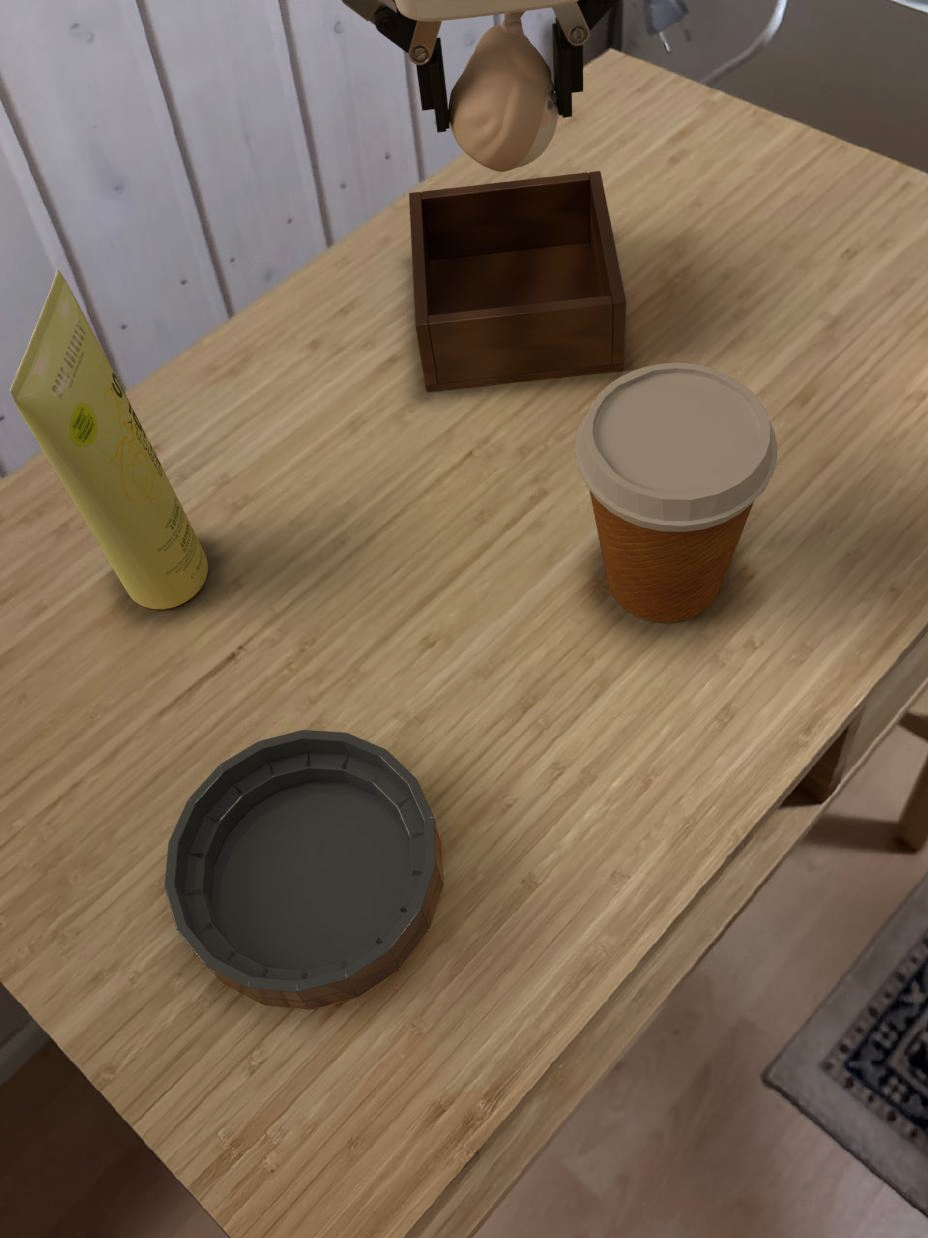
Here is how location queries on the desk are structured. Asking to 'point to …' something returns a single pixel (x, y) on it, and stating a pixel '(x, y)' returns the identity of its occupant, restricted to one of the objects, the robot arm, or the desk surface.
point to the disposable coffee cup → (673, 482)
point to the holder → (516, 282)
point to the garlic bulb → (504, 100)
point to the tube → (105, 456)
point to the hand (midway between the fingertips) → (502, 107)
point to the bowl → (305, 869)
